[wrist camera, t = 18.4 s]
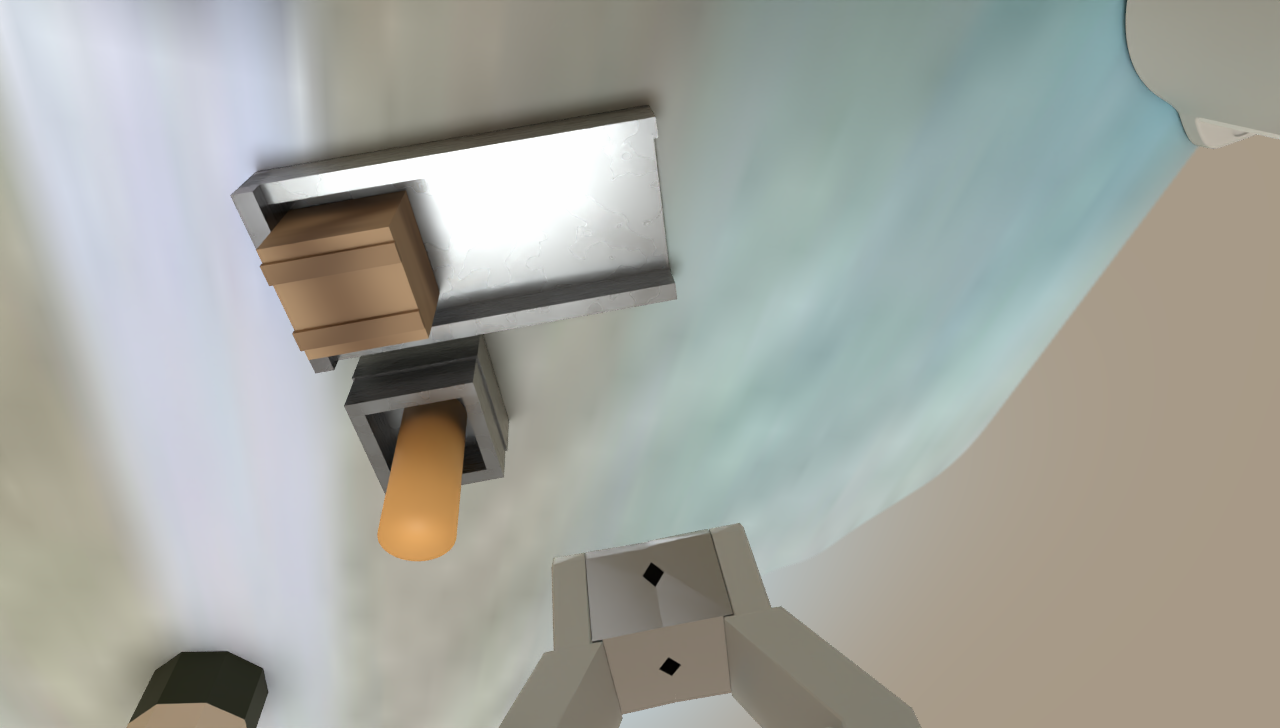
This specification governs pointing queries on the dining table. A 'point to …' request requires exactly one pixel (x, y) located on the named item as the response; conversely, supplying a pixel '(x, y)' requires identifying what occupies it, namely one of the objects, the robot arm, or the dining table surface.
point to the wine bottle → (203, 693)
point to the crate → (352, 275)
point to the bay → (506, 219)
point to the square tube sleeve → (428, 379)
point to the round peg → (425, 482)
